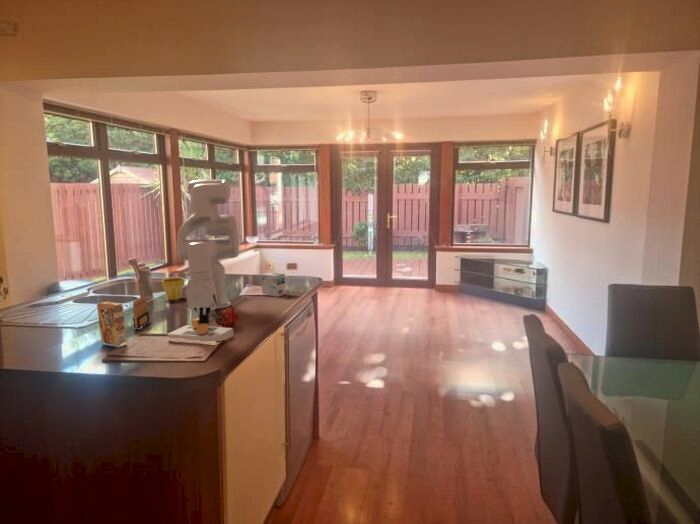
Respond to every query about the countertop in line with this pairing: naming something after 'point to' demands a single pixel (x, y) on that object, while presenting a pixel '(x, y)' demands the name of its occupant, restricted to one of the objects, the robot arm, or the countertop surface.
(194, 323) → the switch tab
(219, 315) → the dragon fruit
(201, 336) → the switch panel
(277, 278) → the light bulb box
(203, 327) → the switch tab
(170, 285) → the plant pot
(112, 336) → the candy box
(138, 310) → the orange flat piece
